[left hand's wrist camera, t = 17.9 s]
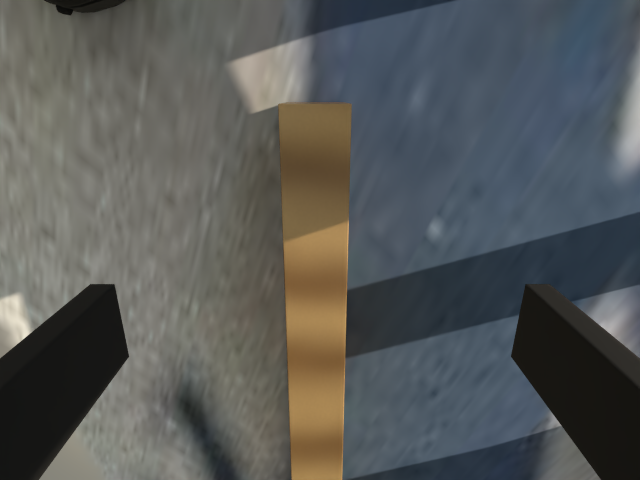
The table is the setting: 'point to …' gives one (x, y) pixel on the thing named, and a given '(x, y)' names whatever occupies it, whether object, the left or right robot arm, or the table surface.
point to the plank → (315, 279)
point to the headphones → (83, 5)
